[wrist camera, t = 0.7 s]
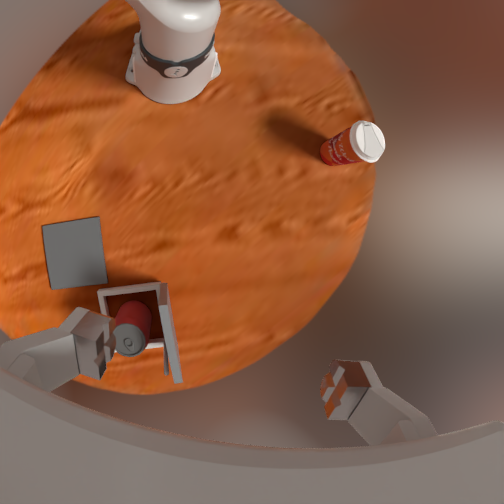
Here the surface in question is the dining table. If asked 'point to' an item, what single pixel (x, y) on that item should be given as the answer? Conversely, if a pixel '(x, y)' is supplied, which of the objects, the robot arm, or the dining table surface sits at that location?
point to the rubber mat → (75, 253)
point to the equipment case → (166, 319)
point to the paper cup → (354, 145)
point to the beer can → (132, 328)
